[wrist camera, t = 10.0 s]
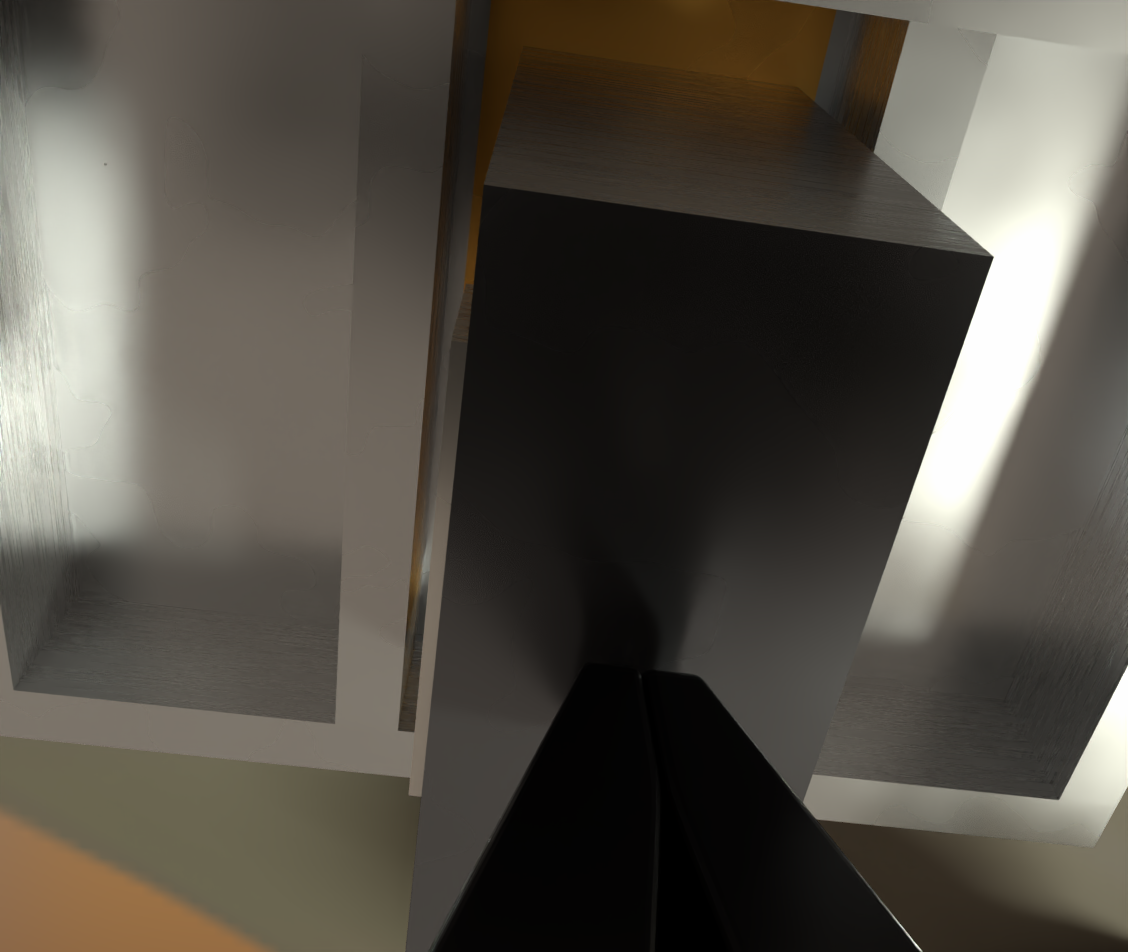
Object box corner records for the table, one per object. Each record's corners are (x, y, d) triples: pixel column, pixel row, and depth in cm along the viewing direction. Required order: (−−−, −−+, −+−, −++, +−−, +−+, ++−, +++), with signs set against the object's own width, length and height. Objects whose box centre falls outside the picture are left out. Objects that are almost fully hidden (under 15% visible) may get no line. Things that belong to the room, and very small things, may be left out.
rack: (1360, -40, 12) (1571, -20, 9) (1017, 708, 17) (1093, 847, 14) (-58, -268, 11) (-246, -315, 8) (50, 602, 16) (-43, 731, 13)
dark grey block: (797, 87, 11) (992, 257, 6) (674, 605, 15) (734, 999, 10) (509, 42, 11) (456, 181, 6) (451, 579, 15) (386, 968, 9)
